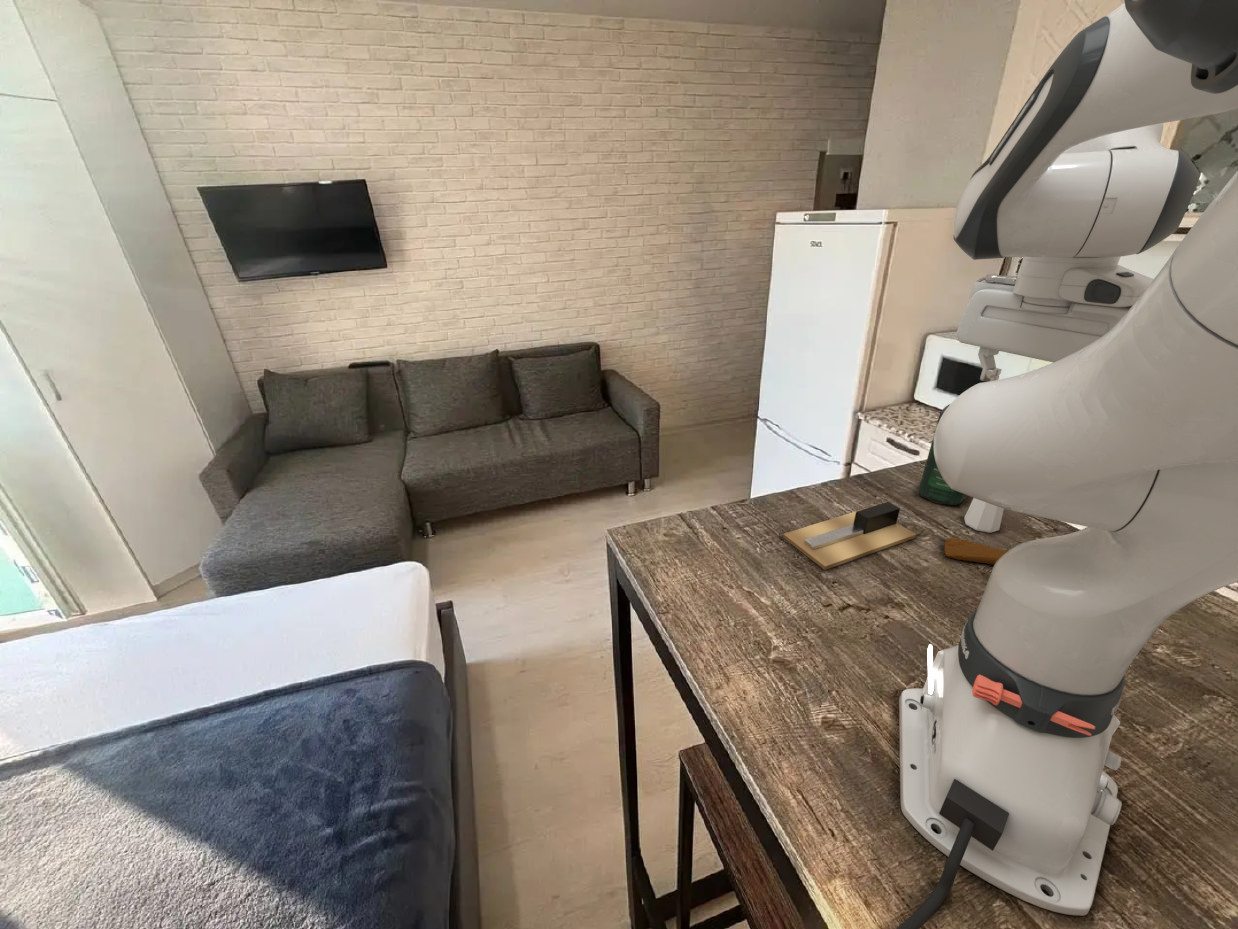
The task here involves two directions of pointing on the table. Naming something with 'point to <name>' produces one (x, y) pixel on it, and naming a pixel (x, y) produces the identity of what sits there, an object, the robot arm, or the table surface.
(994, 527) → the pepper shaker
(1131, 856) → the table surface
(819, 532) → the cutting board
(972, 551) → the primitive tool
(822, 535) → the knife
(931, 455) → the coffee jar
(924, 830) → the robot arm
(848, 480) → the table surface
